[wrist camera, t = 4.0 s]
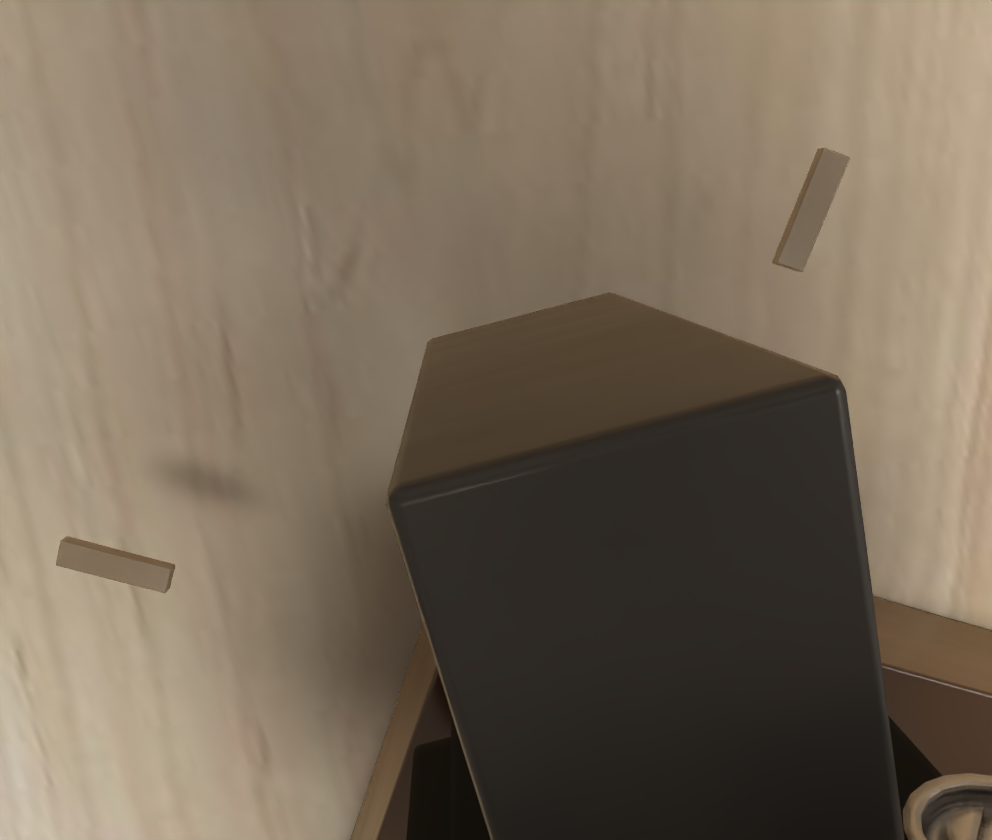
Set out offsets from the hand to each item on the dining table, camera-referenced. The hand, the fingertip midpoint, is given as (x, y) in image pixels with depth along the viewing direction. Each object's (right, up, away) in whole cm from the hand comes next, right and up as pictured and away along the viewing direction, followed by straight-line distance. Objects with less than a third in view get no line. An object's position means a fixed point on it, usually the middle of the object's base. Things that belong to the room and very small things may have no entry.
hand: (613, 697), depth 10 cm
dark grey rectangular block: (0, 0, 0) cm, 0 cm away
